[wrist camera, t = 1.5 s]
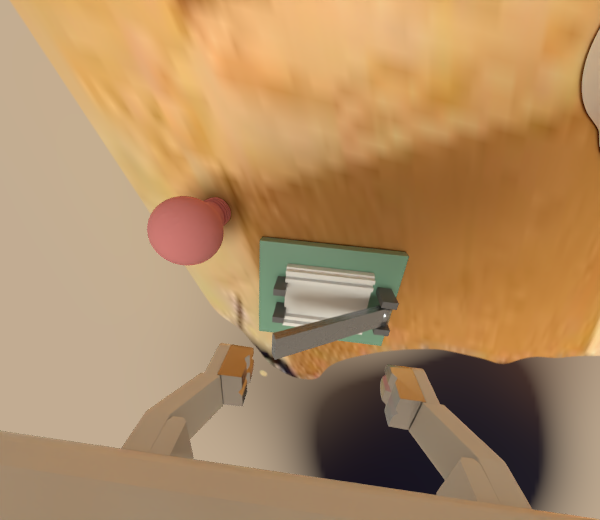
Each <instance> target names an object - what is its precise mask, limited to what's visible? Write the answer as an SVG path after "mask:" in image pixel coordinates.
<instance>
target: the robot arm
mask: <svg viewBox="0 0 600 520" xmlns="http://www.w3.org/2000/svg"><path fill="white" fill-rule="evenodd" d="M582 97H583V102H584V106H585V109H586V111H587V113H588V115H589V116H590V118H591V119H592V120H593V122H594V123H595V125H596V126H597V128H598V130H599V145H600V29H599V31H598V33H597V35H596V37H595V39H594V41H593V43H592V46H591V48H590V51H589V53H588V56H587V59H586V63H585V67H584V71H583V78H582ZM253 350H254V349H253V348H251V347H244V346H238V345H230V344H224V343H221V344H220V345H219V346H218V348H217V350H216V352H215V354H214V355H213V357H212V359H211V361H210V363H209V365H208V367H207V369H206V371H205V372H204V373H200V374H198V375H197V376H196V377H194V378H193V379H191V380H190V381H188V382H187V383H186V384H184V385H183V386H181V387H180V388H179V389H177V390H176V391H174V392H173V393H172V394H170V395H169V396H167V397H166V398H164V399H163V400H161V401H160V402H159V403H157V404H156V405H154V406H153V407H151V408H150V409H149V410H147V411H146V412H145V414H144V415H143V417H142V418H141V420H140V421H139V423H138V424H137V426H136V427H135V429H134V430H133V432H132V433H131V435H130V436H129V438H128V439H127V440H126V442H125V443H124V445H123V446H122V448H121V449H120V448H114V447H107V446H99V445H93V444H86V443H80V442H73V441H66V440H59V439H53V438H46V437H39V436H33V435H26V434H19V433H12V432H6V431H0V520H600V519H595V518H587V517H581V516H574V515H567V514H560V513H554V512H546V511H540V510H533V509H532V508H531V506H530V505H529V503H528V501H527V499H526V498H525V496H524V494H523V493H522V491H521V489H520V488H519V486H518V484H517V482H516V480H515V479H514V477H513V475H512V474H511V472H510V470H509V468H508V467H507V465H506V463H505V462H504V461H503V460H502V459H501V458H500V457H499V456H498V455H497V454H496V453H494V452H493V451H492V450H491V449H490V448H489V447H488V446H487V445H486V444H485V443H484V442H483V441H482V440H481V439H479V438H478V437H477V436H476V435H475V434H474V433H473V432H472V431H471V430H470V429H469V428H468V427H466V426H465V425H464V424H463V423H462V422H461V421H460V420H459V419H458V418H457V417H456V416H455V415H454V414H453V413H452V412H450V411H449V410H448V409H447V408H446V407H445V406H444V405H440V403H439V401H438V399H437V397H436V395H435V393H434V391H433V389H432V386H431V384H430V382H429V380H428V378H427V376H426V373H425V371H424V370H423V369H419V368H409V367H403V366H395V365H387V366H386V368H385V374H386V375H385V376H383V377H382V380H381V383H380V392H381V397H382V400H383V402H384V403H385V404H386V407H385V414H386V419H387V423H388V426H390V427H395V428H401V429H407V430H409V432H410V433H411V435H412V436H413V437H414V439H415V440H416V441H417V443H418V444H419V445H420V447H421V448H422V450H423V451H424V452H425V454H426V455H427V456H428V457H429V459H430V460H431V462H432V463H433V464H434V466H435V467H436V469H437V470H438V471H439V473H440V474H441V475H442V477H443V478H444V479H445V481H444V483H443V484H442V486H441V487H440V489H439V490H438V491H437V495H432V494H425V493H418V492H411V491H404V490H397V489H391V488H384V487H378V486H371V485H364V484H357V483H351V482H344V481H337V480H331V479H324V478H317V477H310V476H303V475H297V474H290V473H283V472H276V471H269V470H262V469H256V468H249V467H242V466H236V465H228V464H221V463H215V462H209V461H202V460H195V459H193V453H192V448H191V443H190V439H191V438H192V437H193V436H194V435H195V434H196V433H197V432H198V430H200V429H201V428H202V426H203V425H204V424H205V423H206V422H207V421H208V420H209V419H210V418H211V417H212V416H213V415H214V414H215V413H216V412H217V411H218V410H219V409H220V408H221V407H222V406H223V404H227V405H235V406H243V403H244V400H245V397H246V394H247V384H249V383H250V381H251V377H252V372H253V365H254V360H253V359H252V357H253V354H254V351H253Z"/></svg>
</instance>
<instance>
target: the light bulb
mask: <svg viewBox="0 0 600 520" xmlns="http://www.w3.org/2000/svg"><path fill="white" fill-rule="evenodd" d="M230 217H231V211H230V208H229V206H228V204H227V203H226V202H225V201H224V200H222V199H220V198H217V197H213V198H209V199H207V200H204V201H202V200H200V199H197V198H194V197H187V196H180V197H173V198H170V199H168V200H165V201H164V202H162V203H161V204H159V205H158V206H157V207H156V208H155V209H154V210H153V212H152V214H151V215H150V218H149V221H148V226H147V231H148V238H149V240H150V243H151V245H152V246H153V248H154V249H155V251H156V252H157V253H158V254H159V255H160V256H162V257H163V258H164V259H166V260H168V261H170V262H172V263H175V264H180V265H195V264H199V263H202V262H204V261H206V260H208V259H210V258H211V257H212V256H213V255H214V254H215V253H216V252H217V251H218V249H219V248H220V246H221V243H222V240H223V226H224V225H225V224H226V223H227V222H228V221H229V219H230Z"/></svg>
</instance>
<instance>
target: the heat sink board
mask: <svg viewBox="0 0 600 520" xmlns="http://www.w3.org/2000/svg"><path fill="white" fill-rule="evenodd" d="M408 258H409V256H408V255H407V253H406V252H401V251H391V250H382V249H372V248H363V247H354V246H344V245H335V244H326V243H316V242H307V241H298V240H288V239H279V238H269V237H262V238H261V239H260V287H259V331H266V332H274V333H275V332H278V331H282V330H286V329H290V328H294V327H298V326H301V325H305V324H309V323H313V322H317V321H321V320H324V319H328V318H332V317H336V316H340V315H344V314H347V313H351V312H355V311H359V310H363V309H367V308H370V307H374V306H378V305H380V306H381V308H386V309H394V310H397V307H398V304H399V303H398V301H397V299H396V296H397V293H398V290H399V287H400V284H401V280H402V277H403V274H404V271H405V268H406V264H407V261H408ZM390 316H391V315H390ZM389 319H390V318H389ZM388 322H389V321H388ZM389 332H390V330H389V327H388V324H387V326H386V327H382V326H381V327H378V328H375V329H372V330H368V331H365V332H362V333H359V334H356V335H352V336H349V337H346V338H343V339H340V340H339V341H347V342H355V343H363V344H371V345H379V346H381V344H382V341H383V338H384V336H388V335H389Z"/></svg>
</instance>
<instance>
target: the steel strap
mask: <svg viewBox="0 0 600 520" xmlns="http://www.w3.org/2000/svg"><path fill="white" fill-rule="evenodd" d="M391 312H392V309H386V308H381V306H380V305H378V306H374V307H370V308H367V309H363V310H359V311H355V312H351V313H347V314H344V315H340V316H336V317H332V318H328V319H324V320H321V321H317V322H313V323H309V324H305V325H301V326H298V327H294V328H290V329H286V330H282V331H278V332H275V333H273V336H272V354H273V357H274V359H279V358H282V357H285V356H288V355H291V354H295V353H298V352H301V351H304V350H307V349H311V348H314V347H317V346H320V345H324V344H327V343H330V342H333V341H336V340H340V339H343V338H346V337H349V336H352V335H356V334H359V333H362V332H365V331H368V330H372V329H375V328H378V327H381V326H382V327H386V326H387V324H388V321H389V318H390V315H391Z"/></svg>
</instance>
